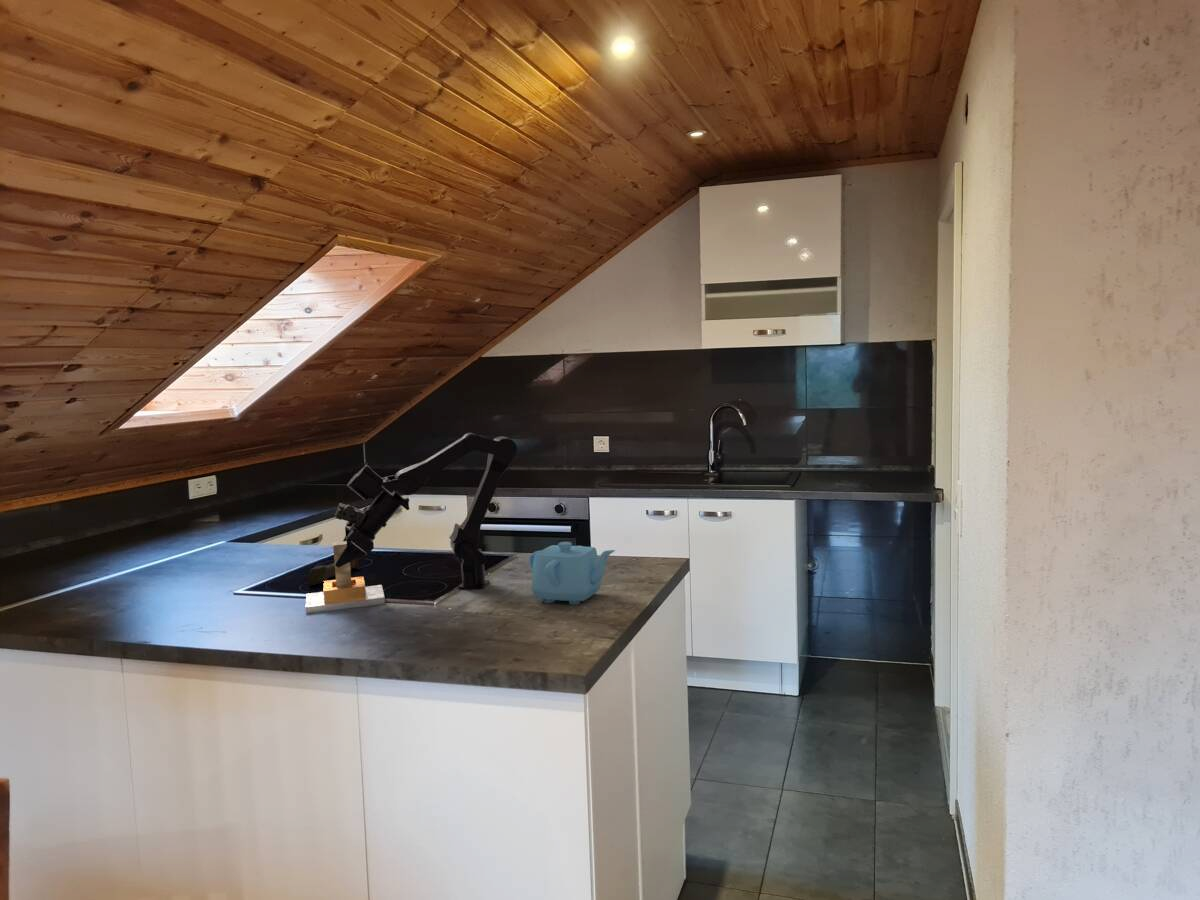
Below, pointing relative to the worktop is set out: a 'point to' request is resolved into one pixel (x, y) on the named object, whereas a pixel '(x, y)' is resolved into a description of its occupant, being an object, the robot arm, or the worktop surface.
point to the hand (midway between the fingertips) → (336, 561)
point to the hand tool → (326, 572)
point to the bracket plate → (320, 606)
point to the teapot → (567, 572)
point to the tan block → (344, 571)
